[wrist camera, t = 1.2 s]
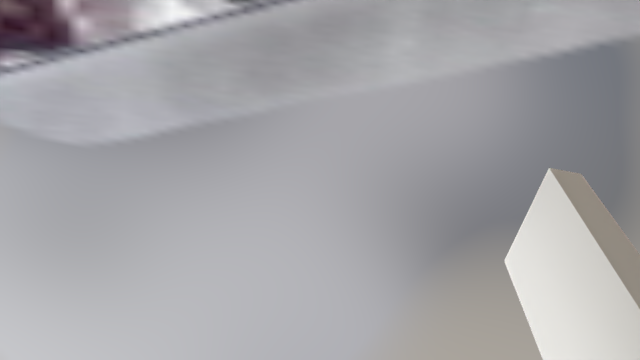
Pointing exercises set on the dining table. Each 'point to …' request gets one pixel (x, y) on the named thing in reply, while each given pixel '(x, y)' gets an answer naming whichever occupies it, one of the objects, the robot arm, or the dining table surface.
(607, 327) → the robot arm
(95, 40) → the dining table surface
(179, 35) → the dining table surface
